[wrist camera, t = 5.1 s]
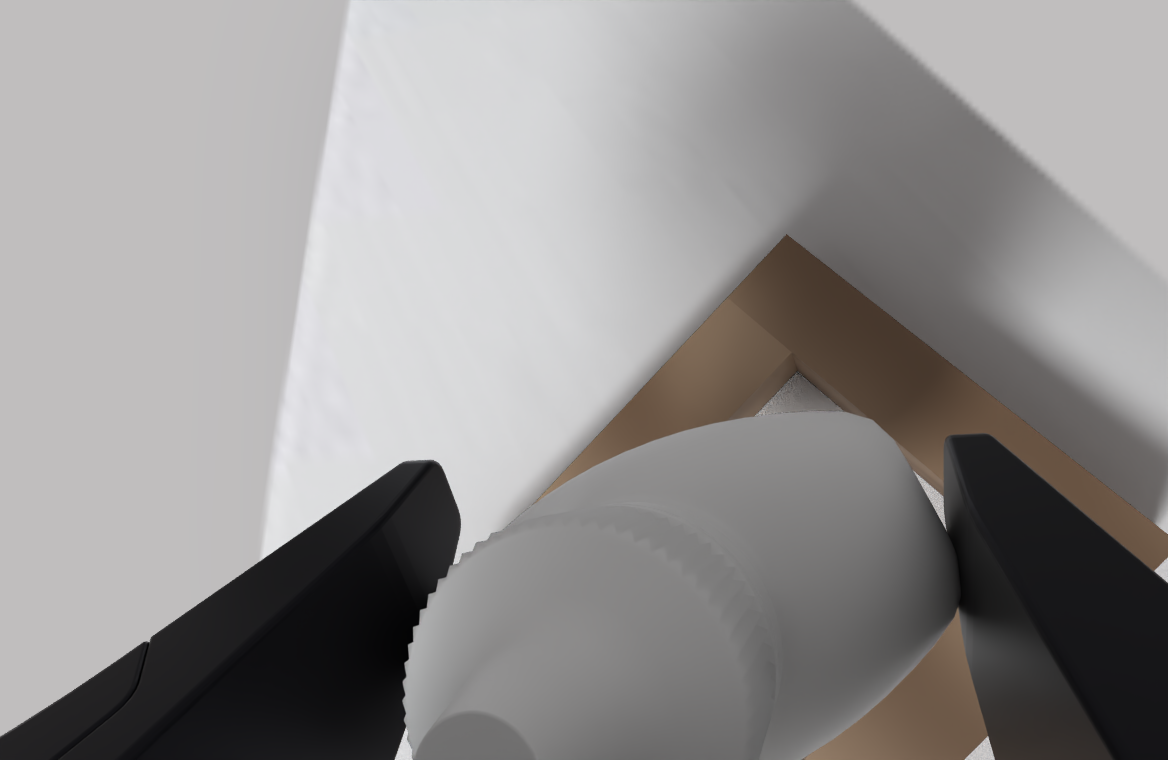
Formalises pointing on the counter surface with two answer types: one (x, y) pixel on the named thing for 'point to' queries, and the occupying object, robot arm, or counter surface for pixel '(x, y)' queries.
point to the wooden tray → (900, 407)
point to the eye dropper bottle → (689, 602)
